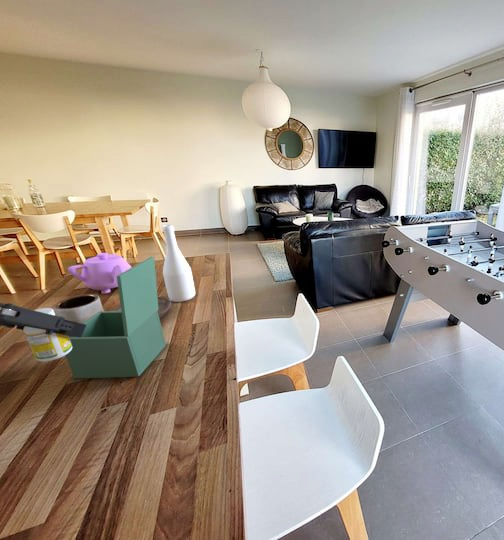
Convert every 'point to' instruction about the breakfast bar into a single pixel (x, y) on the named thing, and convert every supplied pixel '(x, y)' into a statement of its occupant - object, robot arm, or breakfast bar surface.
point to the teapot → (101, 271)
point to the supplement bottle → (47, 341)
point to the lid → (137, 294)
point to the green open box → (114, 347)
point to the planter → (79, 307)
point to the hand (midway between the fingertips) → (68, 329)
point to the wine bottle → (176, 270)
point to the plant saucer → (162, 306)
